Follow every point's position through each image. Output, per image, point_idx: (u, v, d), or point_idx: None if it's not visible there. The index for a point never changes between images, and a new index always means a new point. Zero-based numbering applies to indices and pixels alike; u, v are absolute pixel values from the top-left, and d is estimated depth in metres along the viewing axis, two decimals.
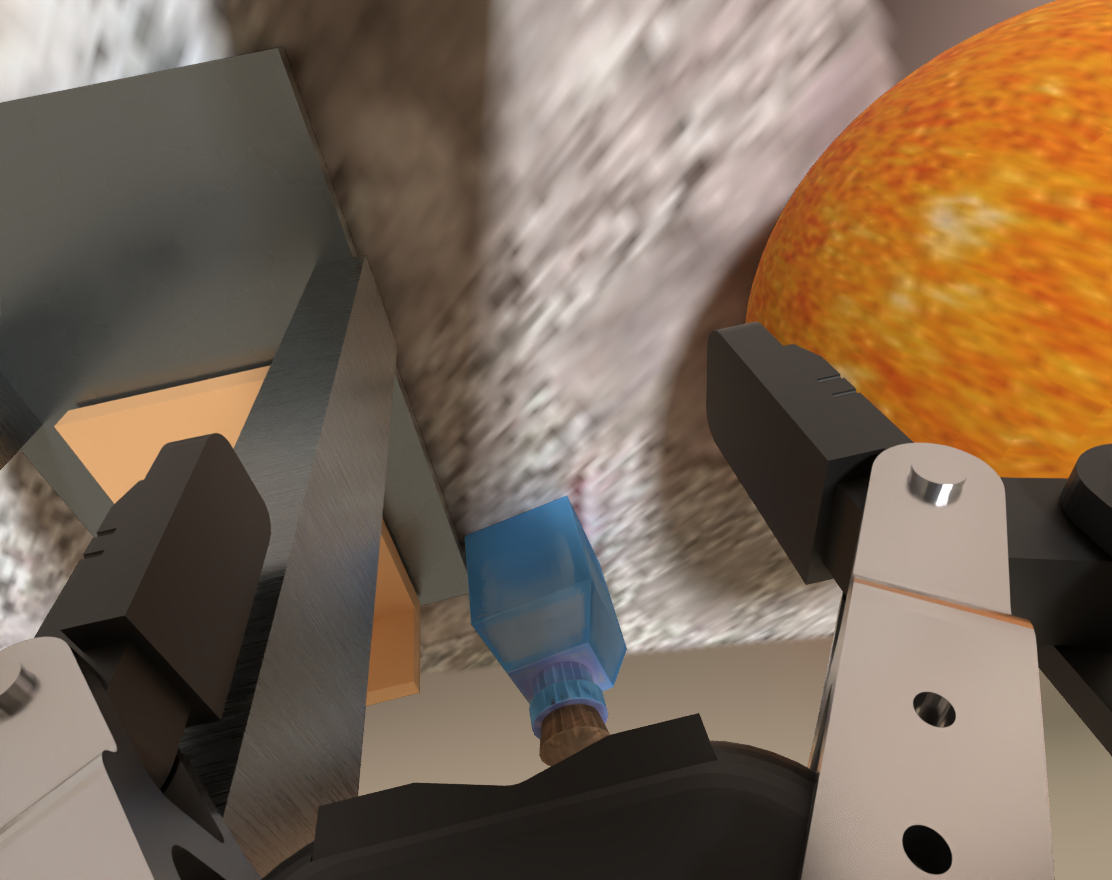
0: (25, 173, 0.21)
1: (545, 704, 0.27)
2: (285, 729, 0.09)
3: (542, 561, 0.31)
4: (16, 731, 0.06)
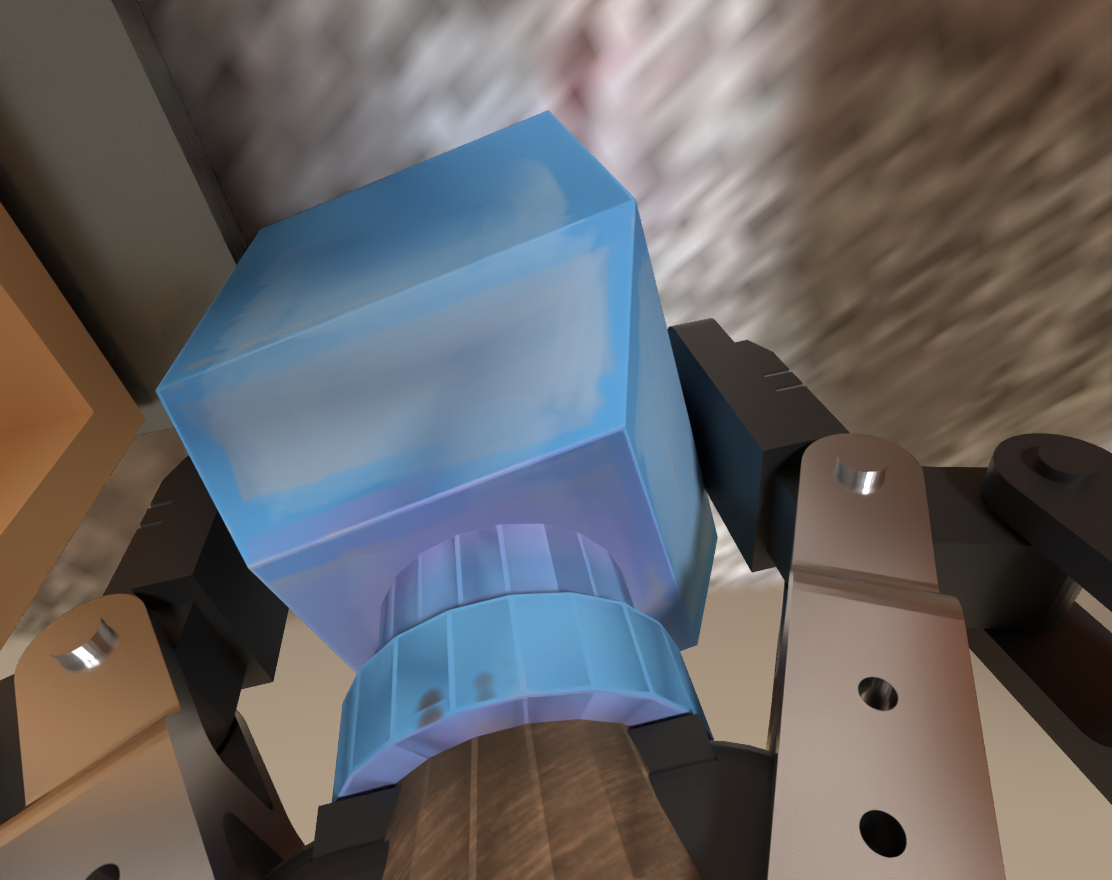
0: None
1: (389, 720, 0.05)
2: None
3: (454, 214, 0.09)
4: (93, 681, 0.06)
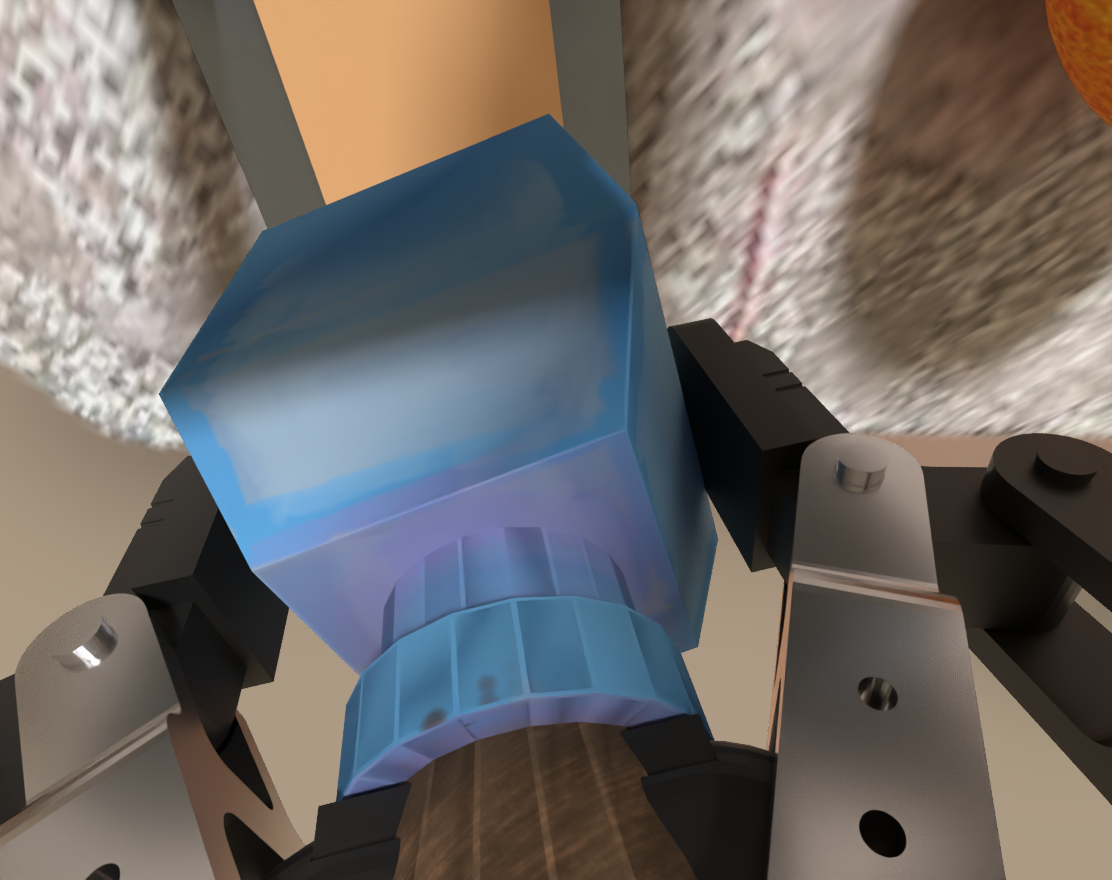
0: None
1: (393, 723, 0.05)
2: None
3: (455, 217, 0.09)
4: (93, 681, 0.06)
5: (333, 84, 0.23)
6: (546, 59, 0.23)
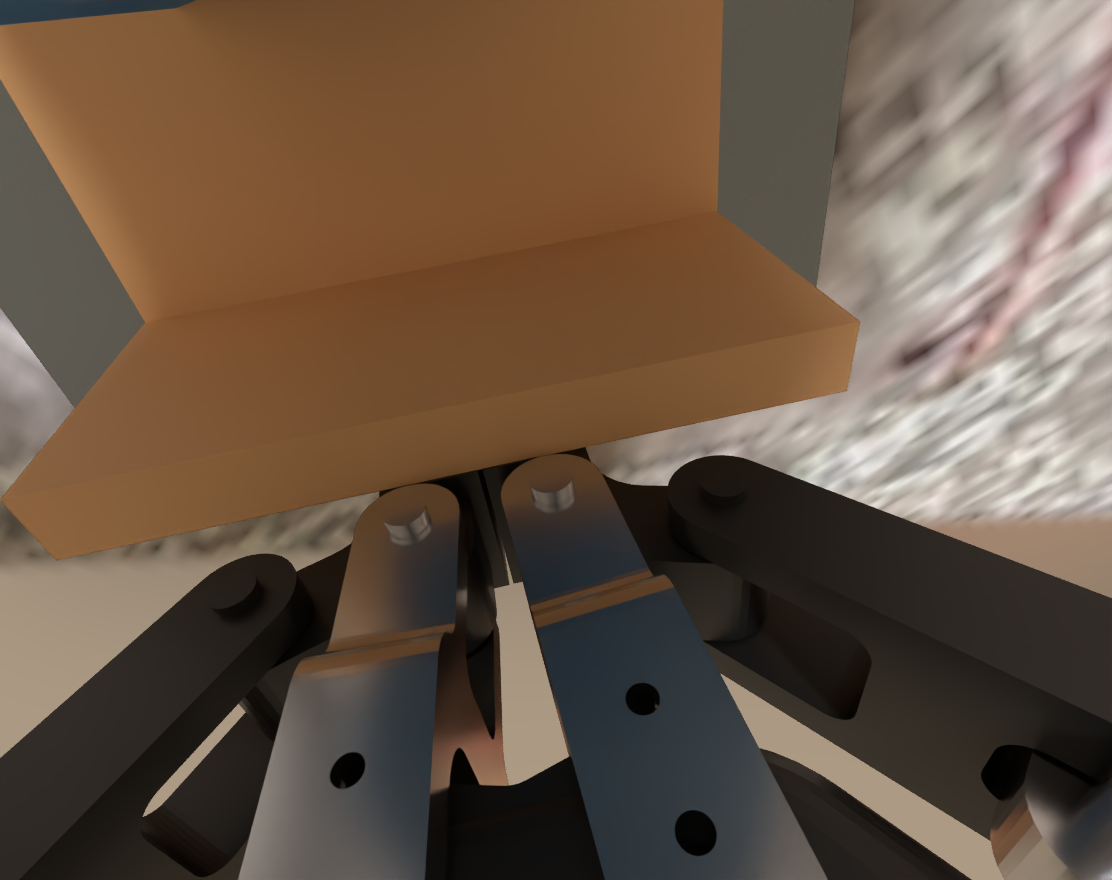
0: None
1: None
2: None
3: None
4: (403, 561, 0.07)
5: None
6: None
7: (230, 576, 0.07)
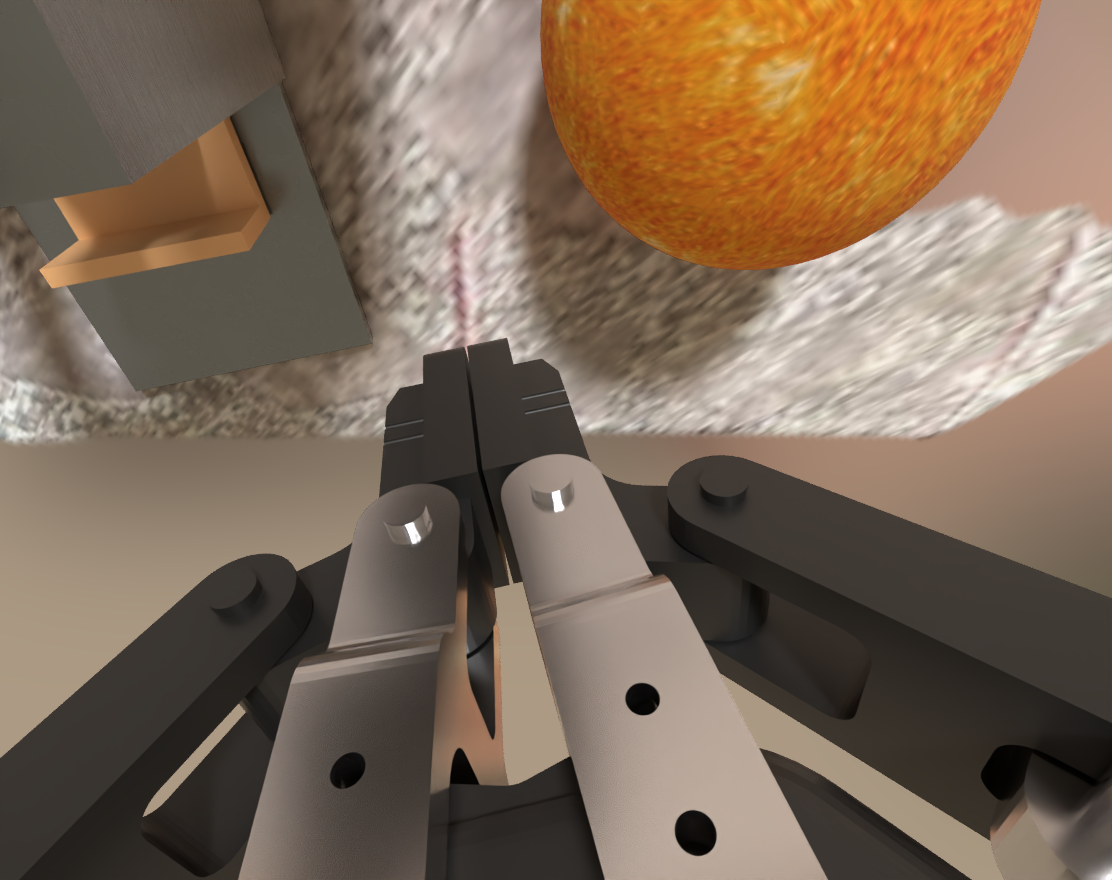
0: None
1: None
2: (107, 34, 0.16)
3: None
4: (404, 561, 0.07)
5: None
6: None
7: (230, 576, 0.07)
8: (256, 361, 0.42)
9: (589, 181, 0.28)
